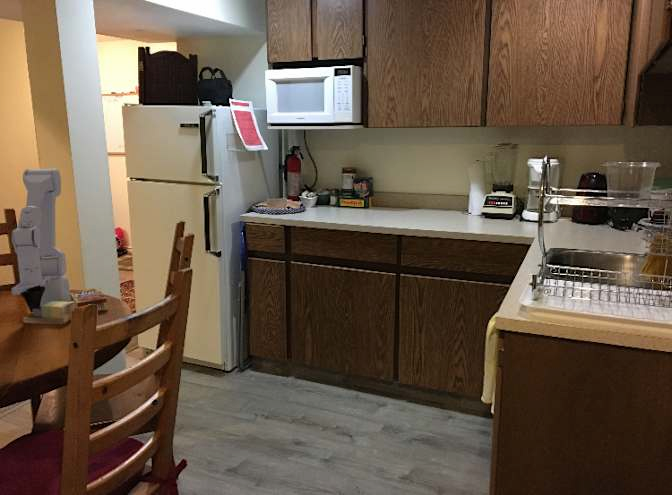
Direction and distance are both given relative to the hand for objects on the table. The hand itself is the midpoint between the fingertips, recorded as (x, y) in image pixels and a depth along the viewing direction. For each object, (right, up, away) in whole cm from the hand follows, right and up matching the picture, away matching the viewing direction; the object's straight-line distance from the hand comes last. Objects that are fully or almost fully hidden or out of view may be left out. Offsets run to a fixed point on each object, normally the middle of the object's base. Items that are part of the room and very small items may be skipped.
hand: (34, 311), depth 174 cm
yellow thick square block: (+9, -3, -1) cm, 9 cm away
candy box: (+15, +1, +5) cm, 16 cm away
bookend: (+3, -2, 0) cm, 4 cm away
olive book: (+6, -2, 0) cm, 6 cm away
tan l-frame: (+5, -3, -1) cm, 6 cm away
